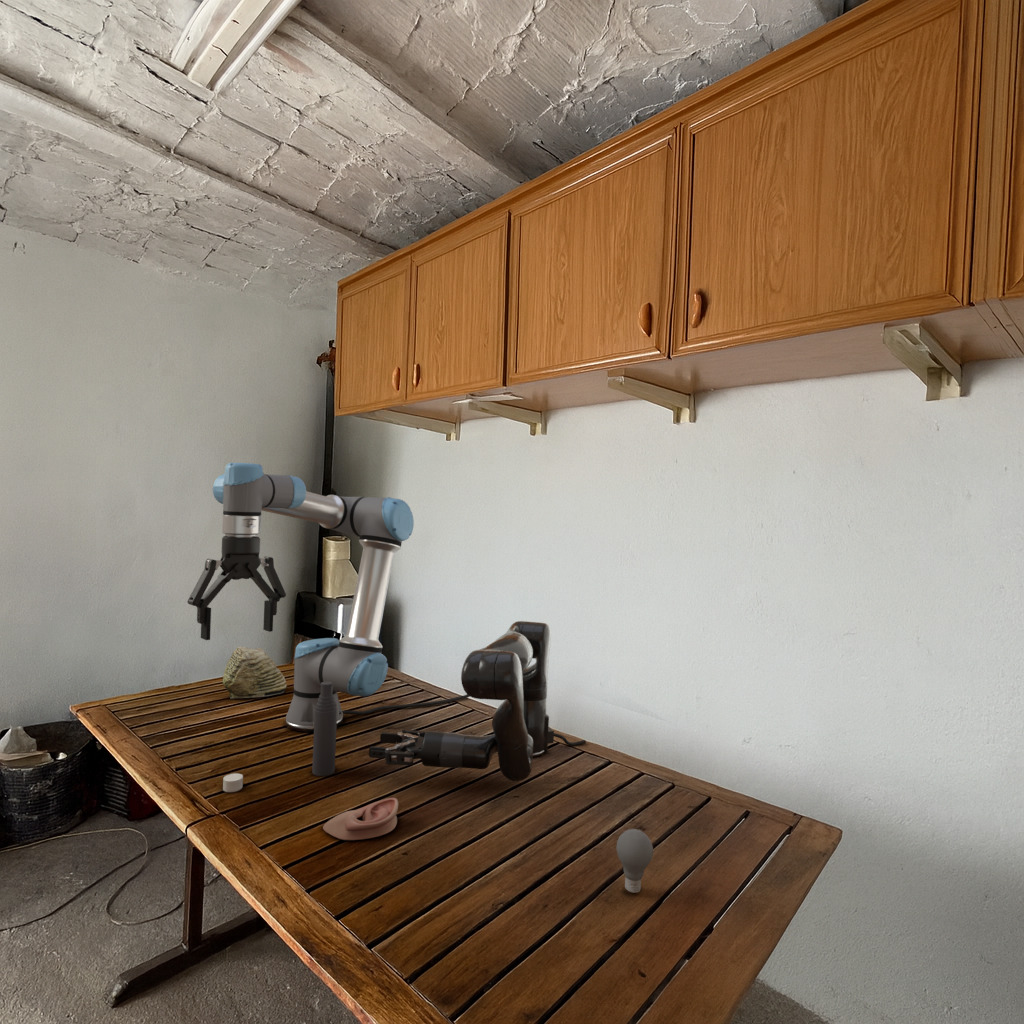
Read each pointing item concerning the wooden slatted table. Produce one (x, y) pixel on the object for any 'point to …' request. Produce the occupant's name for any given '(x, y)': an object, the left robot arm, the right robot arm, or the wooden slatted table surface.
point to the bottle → (325, 732)
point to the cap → (233, 782)
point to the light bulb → (634, 857)
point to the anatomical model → (364, 821)
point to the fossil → (252, 674)
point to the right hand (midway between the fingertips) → (375, 744)
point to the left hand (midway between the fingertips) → (237, 634)
